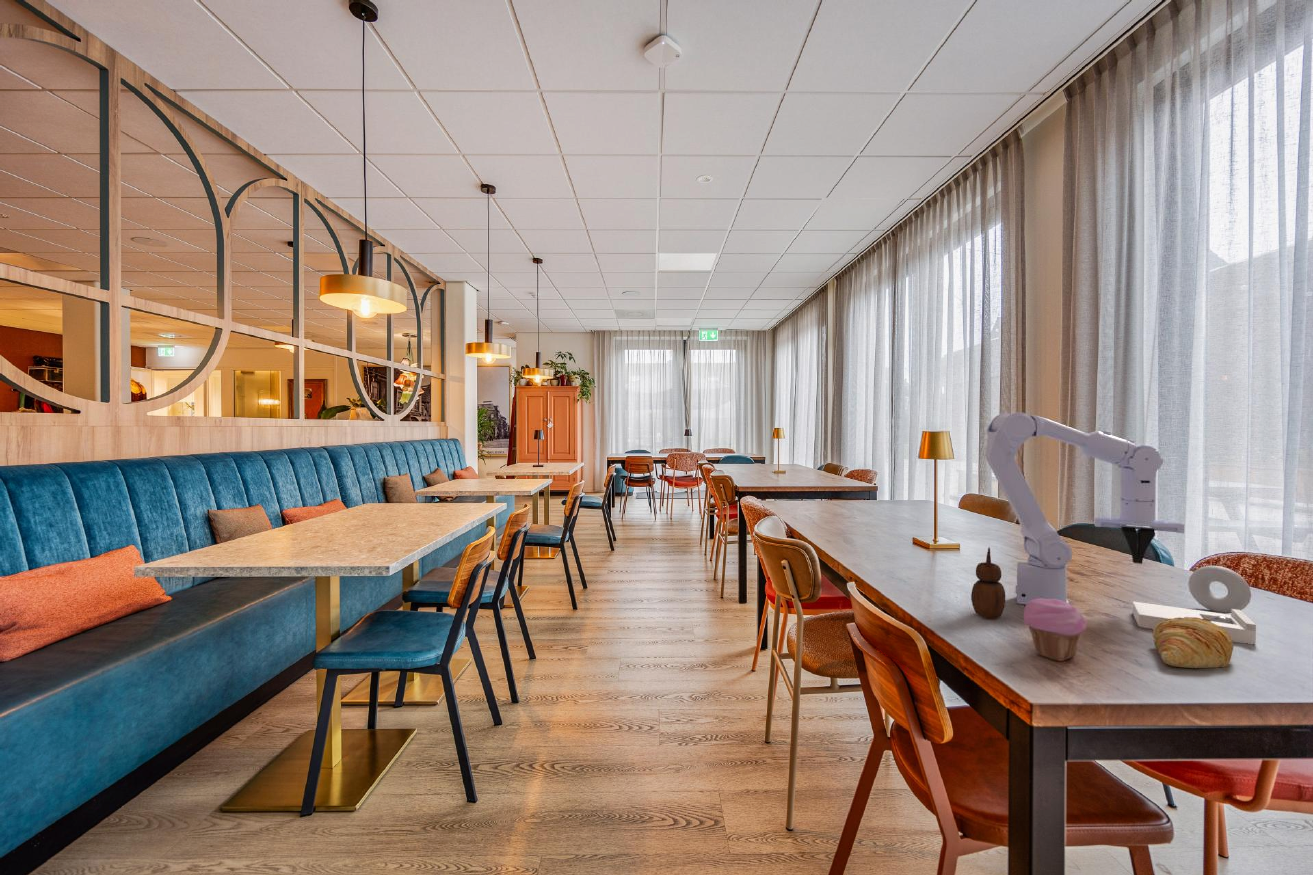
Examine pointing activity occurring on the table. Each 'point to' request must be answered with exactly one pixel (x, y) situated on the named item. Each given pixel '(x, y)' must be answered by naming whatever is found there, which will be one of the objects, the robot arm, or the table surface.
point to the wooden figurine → (988, 590)
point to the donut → (1232, 580)
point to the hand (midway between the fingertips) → (1137, 562)
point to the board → (1155, 614)
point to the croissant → (1193, 643)
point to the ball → (1221, 619)
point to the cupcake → (1054, 627)
